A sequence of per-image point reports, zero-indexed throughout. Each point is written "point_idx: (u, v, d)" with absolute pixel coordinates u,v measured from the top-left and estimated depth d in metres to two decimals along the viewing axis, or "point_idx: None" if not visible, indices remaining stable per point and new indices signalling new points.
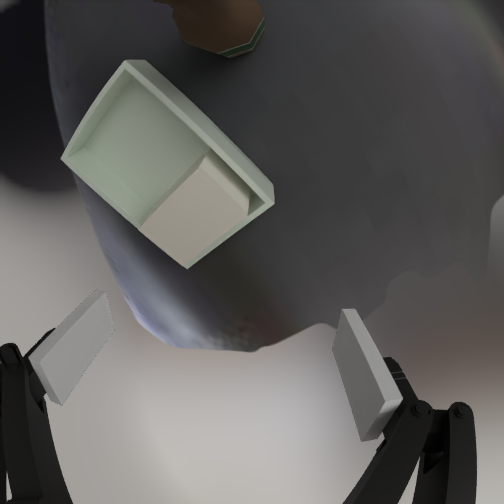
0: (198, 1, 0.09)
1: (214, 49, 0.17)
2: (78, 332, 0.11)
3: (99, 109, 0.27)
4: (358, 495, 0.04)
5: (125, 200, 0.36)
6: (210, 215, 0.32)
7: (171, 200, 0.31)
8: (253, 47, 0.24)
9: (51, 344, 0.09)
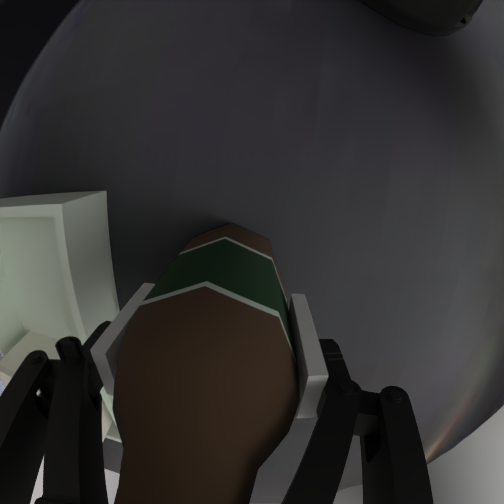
0: None
1: None
2: None
3: None
4: (295, 479, 0.05)
5: None
6: None
7: None
8: None
9: (113, 335, 0.10)
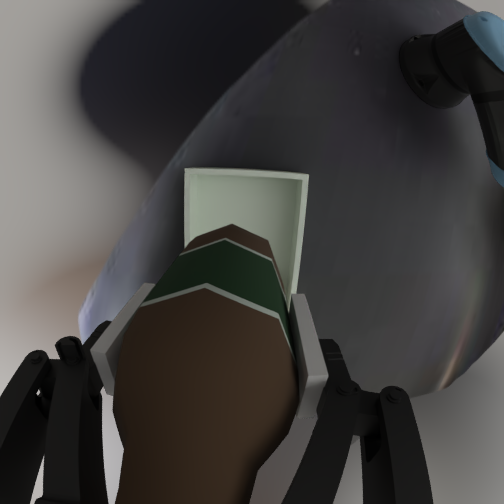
0: None
1: None
2: None
3: None
4: (295, 479, 0.05)
5: None
6: None
7: None
8: None
9: (113, 335, 0.10)
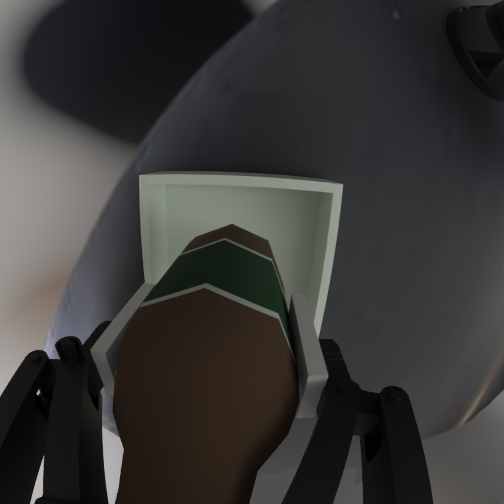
0: None
1: None
2: None
3: None
4: (295, 479, 0.05)
5: None
6: None
7: None
8: None
9: (113, 335, 0.10)
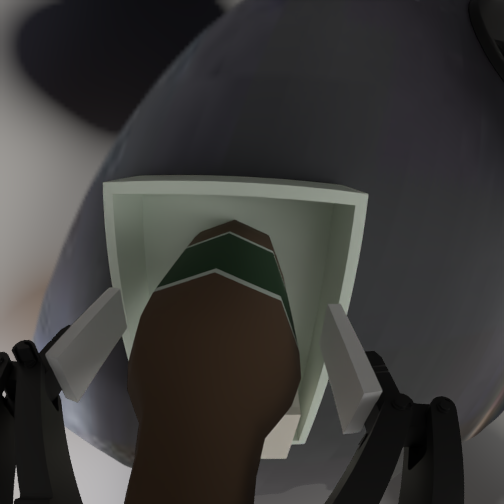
0: None
1: None
2: (94, 329, 0.11)
3: None
4: (341, 490, 0.05)
5: None
6: None
7: None
8: None
9: (68, 341, 0.09)
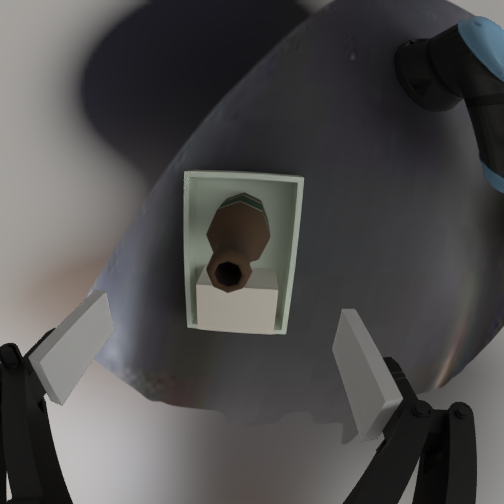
0: None
1: None
2: (78, 333, 0.11)
3: None
4: (358, 495, 0.04)
5: (192, 247, 0.43)
6: (254, 318, 0.41)
7: (242, 291, 0.40)
8: None
9: (51, 344, 0.09)
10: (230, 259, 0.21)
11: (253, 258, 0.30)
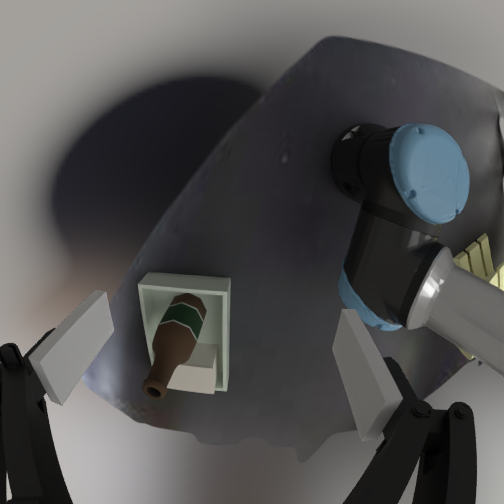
0: None
1: None
2: (78, 332, 0.11)
3: None
4: (358, 495, 0.04)
5: (152, 331, 0.54)
6: (198, 383, 0.52)
7: (186, 367, 0.50)
8: None
9: (51, 344, 0.09)
10: (152, 386, 0.32)
11: (181, 363, 0.41)
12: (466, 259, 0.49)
